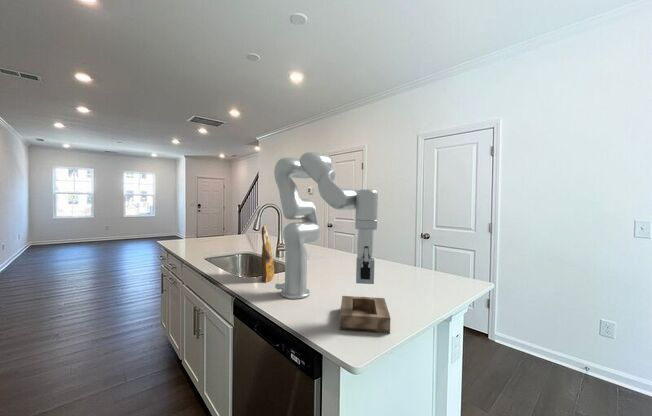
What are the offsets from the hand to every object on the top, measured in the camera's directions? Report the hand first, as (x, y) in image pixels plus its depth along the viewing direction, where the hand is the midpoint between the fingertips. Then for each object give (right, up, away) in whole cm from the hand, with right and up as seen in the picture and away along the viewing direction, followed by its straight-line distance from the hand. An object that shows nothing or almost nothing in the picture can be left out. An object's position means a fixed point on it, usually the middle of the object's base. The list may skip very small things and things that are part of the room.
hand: (364, 276), depth 98 cm
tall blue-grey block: (0, -2, 0) cm, 2 cm away
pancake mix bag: (-45, -13, +49) cm, 68 cm away
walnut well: (0, -15, +1) cm, 15 cm away
